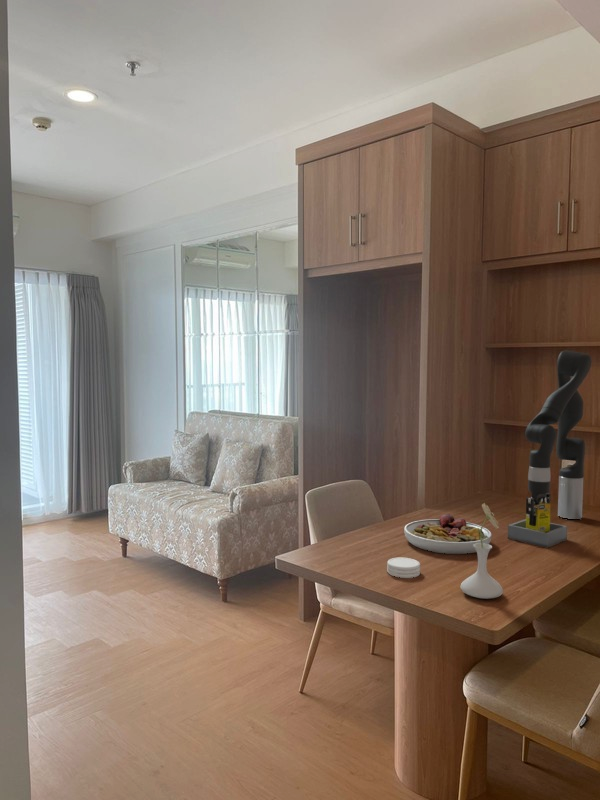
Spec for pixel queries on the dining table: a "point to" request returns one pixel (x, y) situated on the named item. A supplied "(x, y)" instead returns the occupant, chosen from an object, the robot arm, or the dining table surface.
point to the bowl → (446, 535)
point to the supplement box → (540, 518)
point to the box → (537, 534)
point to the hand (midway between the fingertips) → (537, 523)
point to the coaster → (403, 567)
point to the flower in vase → (482, 568)
